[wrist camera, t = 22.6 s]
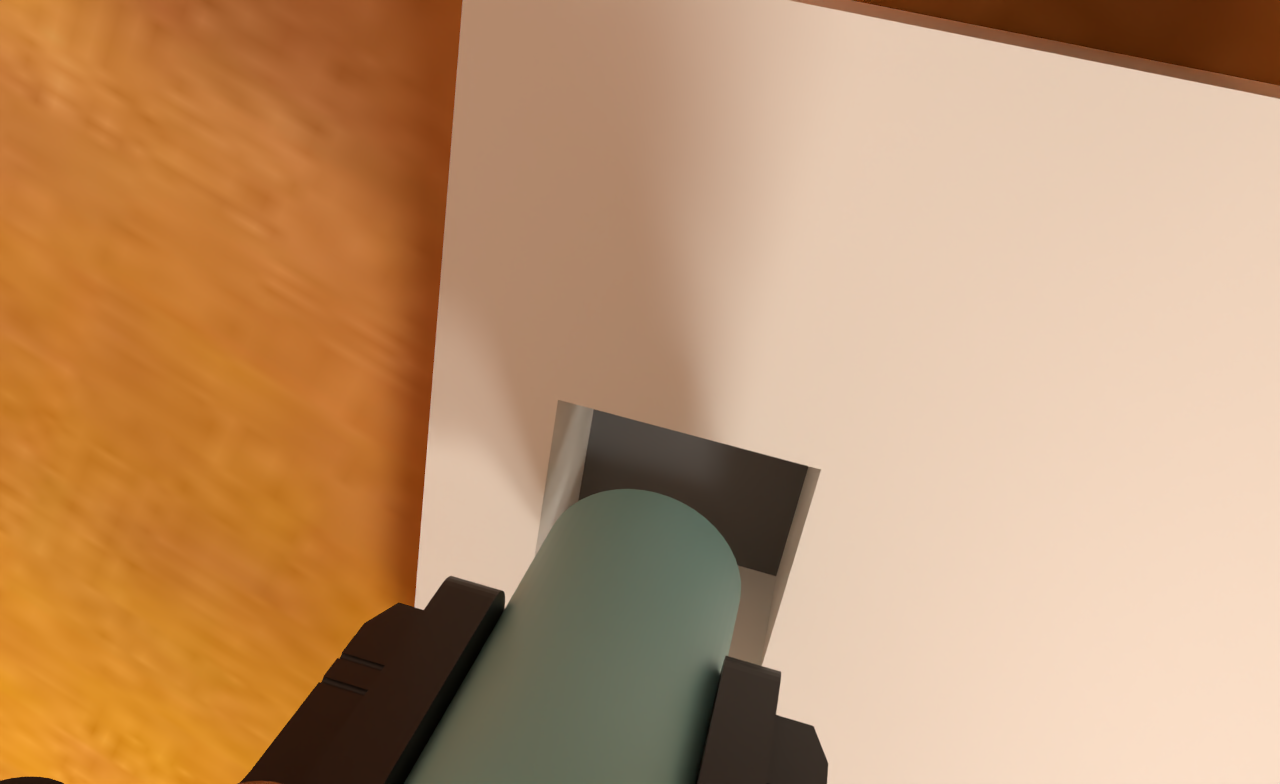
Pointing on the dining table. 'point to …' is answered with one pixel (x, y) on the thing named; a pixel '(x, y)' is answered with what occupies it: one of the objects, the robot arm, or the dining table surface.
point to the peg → (598, 654)
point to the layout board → (886, 366)
